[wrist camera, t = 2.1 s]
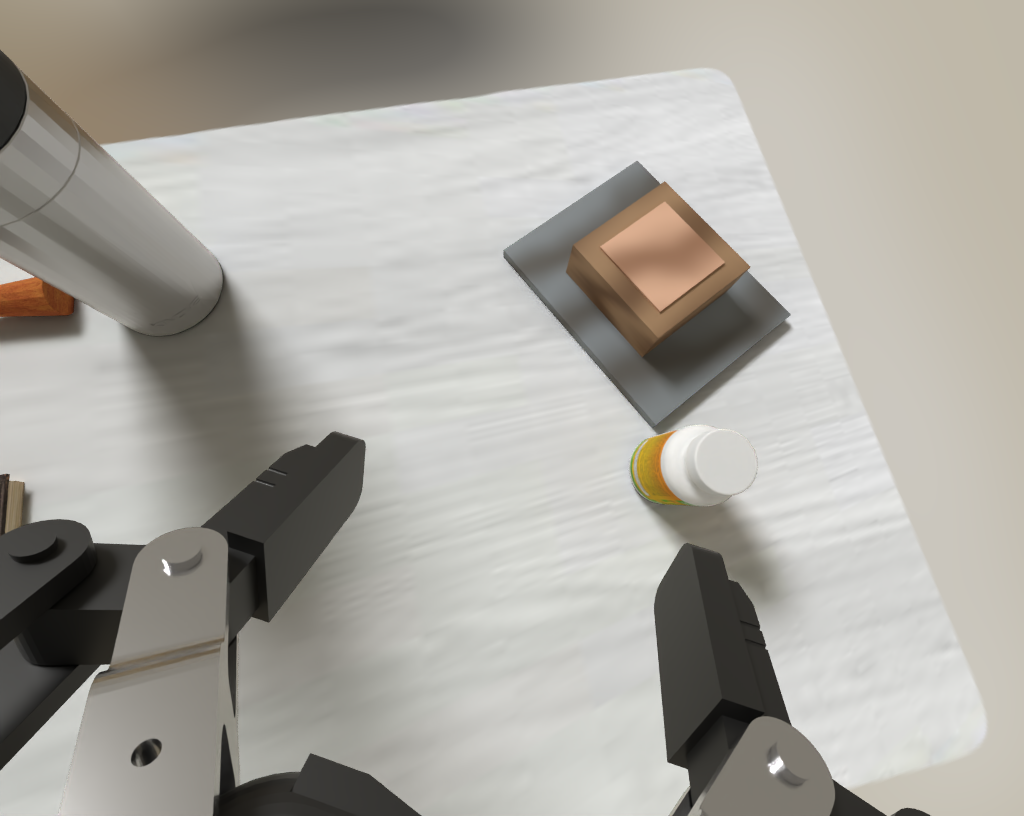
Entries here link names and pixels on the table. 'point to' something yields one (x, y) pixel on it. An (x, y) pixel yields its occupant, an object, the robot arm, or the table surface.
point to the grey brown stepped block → (646, 289)
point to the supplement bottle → (693, 466)
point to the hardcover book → (10, 504)
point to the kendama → (33, 299)
